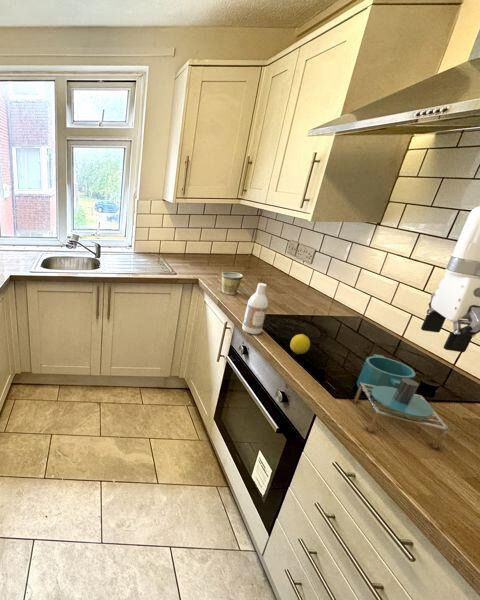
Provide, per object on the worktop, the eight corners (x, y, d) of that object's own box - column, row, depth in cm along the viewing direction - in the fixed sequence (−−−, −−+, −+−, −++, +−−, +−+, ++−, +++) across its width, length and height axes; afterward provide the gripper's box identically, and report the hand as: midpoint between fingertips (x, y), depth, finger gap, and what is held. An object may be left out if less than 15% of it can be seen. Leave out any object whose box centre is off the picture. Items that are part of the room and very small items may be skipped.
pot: (390, 380, 98) (401, 356, 95) (414, 412, 85) (428, 387, 81) (349, 371, 102) (358, 349, 99) (366, 401, 89) (377, 376, 85)
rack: (412, 413, 84) (421, 395, 82) (438, 449, 73) (450, 429, 71) (352, 399, 89) (359, 382, 87) (368, 431, 78) (377, 412, 76)
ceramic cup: (215, 292, 168) (218, 274, 165) (223, 287, 175) (227, 270, 171) (239, 299, 159) (243, 280, 156) (248, 294, 166) (252, 276, 162)
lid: (418, 396, 82) (429, 375, 79) (441, 425, 72) (455, 402, 70) (364, 384, 86) (372, 364, 83) (379, 411, 77) (390, 389, 74)
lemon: (305, 352, 112) (312, 333, 109) (306, 360, 108) (313, 339, 105) (287, 348, 115) (293, 329, 112) (287, 355, 111) (293, 335, 107)
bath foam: (245, 334, 125) (256, 287, 117) (239, 326, 131) (249, 281, 124) (263, 335, 124) (276, 287, 117) (256, 327, 131) (267, 281, 123)
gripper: (534, 281, 56) (490, 363, 63) (473, 259, 71) (442, 327, 77) (476, 277, 59) (439, 355, 66) (428, 256, 74) (402, 322, 80)
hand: (440, 340), depth 71 cm, fingers open, 9 cm apart
